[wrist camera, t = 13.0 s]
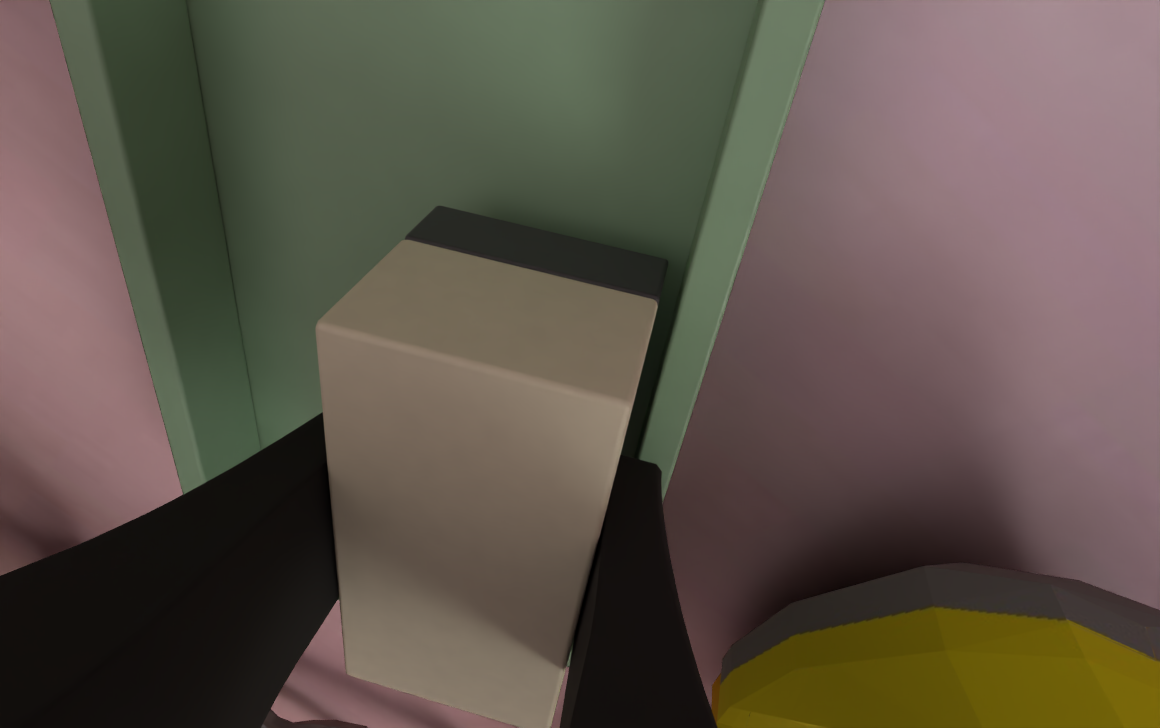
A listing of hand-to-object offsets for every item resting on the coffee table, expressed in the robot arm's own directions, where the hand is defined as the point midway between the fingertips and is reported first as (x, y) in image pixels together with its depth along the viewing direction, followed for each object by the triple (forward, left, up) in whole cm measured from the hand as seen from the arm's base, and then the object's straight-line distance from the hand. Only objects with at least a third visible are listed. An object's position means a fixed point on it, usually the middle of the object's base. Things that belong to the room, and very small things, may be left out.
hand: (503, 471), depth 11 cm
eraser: (0, 0, -1) cm, 1 cm away
